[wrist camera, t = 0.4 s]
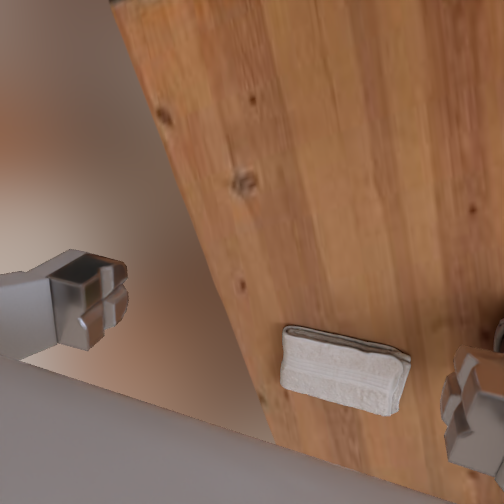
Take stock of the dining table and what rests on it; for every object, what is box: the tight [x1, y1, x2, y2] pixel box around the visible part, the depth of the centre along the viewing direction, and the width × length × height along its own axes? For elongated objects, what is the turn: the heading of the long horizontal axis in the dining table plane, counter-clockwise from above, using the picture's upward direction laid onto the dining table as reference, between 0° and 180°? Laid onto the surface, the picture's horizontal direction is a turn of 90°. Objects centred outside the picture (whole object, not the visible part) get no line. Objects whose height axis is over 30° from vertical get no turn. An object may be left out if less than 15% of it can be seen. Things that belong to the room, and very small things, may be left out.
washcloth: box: [280, 326, 411, 416], centre depth 60 cm, size 12×18×3 cm, turn 89°
